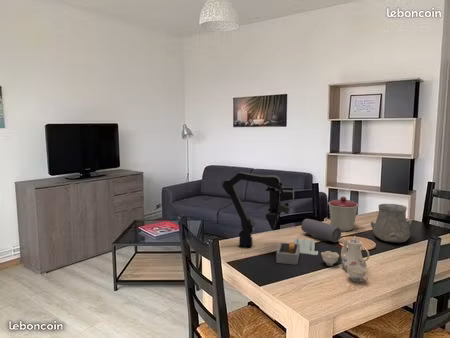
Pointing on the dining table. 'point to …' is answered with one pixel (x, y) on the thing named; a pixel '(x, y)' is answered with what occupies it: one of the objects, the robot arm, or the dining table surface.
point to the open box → (287, 254)
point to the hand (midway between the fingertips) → (274, 227)
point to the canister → (343, 213)
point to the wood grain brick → (291, 248)
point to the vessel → (392, 223)
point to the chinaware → (349, 259)
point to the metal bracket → (306, 246)
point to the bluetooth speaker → (321, 230)
